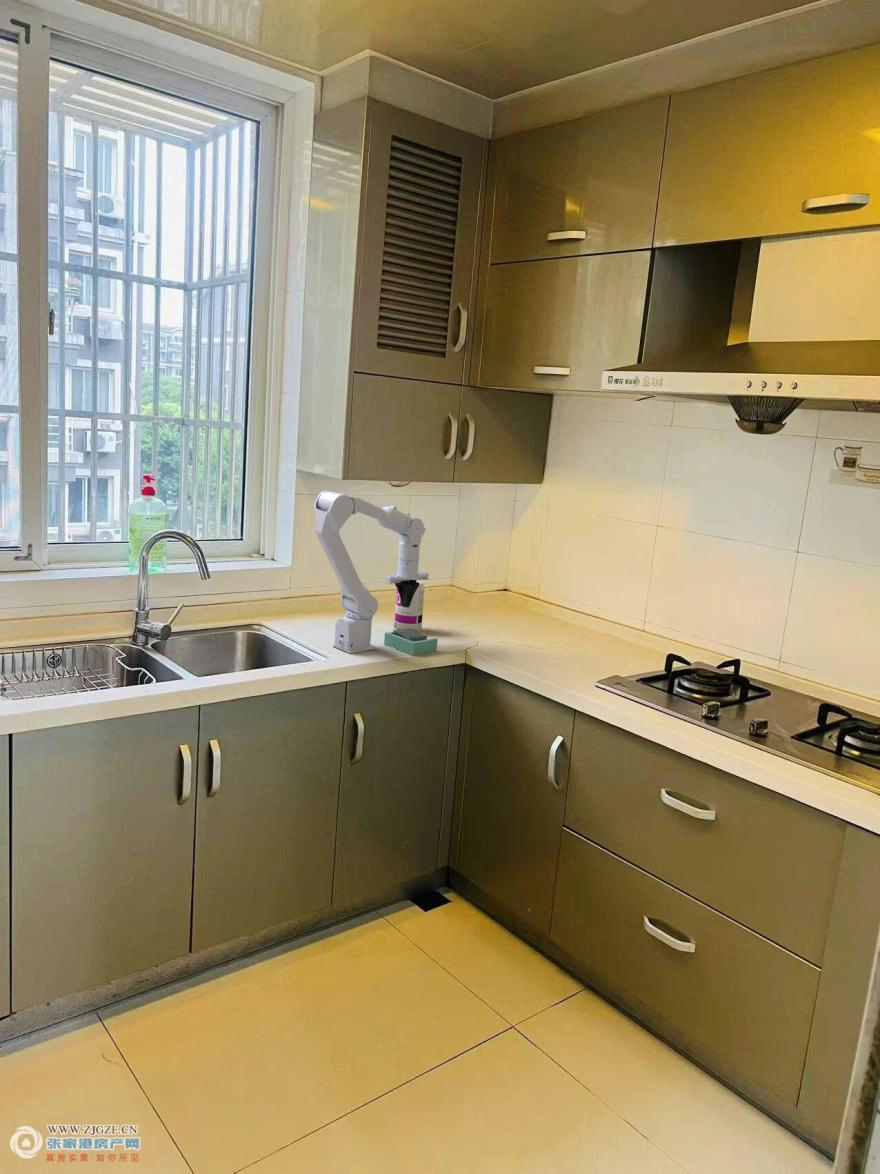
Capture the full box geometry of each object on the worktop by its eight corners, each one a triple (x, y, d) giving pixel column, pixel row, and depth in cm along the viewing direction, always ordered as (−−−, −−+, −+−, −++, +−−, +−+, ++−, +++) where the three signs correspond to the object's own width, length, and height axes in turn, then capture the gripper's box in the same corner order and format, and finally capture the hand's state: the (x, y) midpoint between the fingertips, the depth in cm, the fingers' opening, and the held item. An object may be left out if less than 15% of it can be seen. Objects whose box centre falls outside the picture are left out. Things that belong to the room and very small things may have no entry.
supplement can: (405, 635, 258) (408, 585, 255) (388, 628, 264) (391, 579, 261) (426, 632, 263) (430, 583, 260) (410, 625, 269) (413, 577, 266)
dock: (412, 655, 238) (413, 643, 237) (384, 644, 246) (384, 632, 245) (436, 651, 244) (437, 638, 243) (408, 640, 252) (408, 628, 252)
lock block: (408, 653, 241) (409, 637, 240) (392, 645, 247) (393, 629, 246) (426, 650, 244) (427, 635, 243) (410, 643, 251) (411, 628, 250)
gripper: (398, 563, 238) (395, 612, 241) (437, 559, 248) (434, 606, 251) (381, 559, 243) (378, 607, 245) (420, 555, 253) (417, 601, 255)
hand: (405, 606), depth 248 cm, fingers closed
